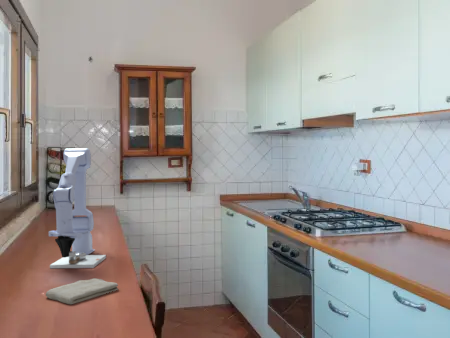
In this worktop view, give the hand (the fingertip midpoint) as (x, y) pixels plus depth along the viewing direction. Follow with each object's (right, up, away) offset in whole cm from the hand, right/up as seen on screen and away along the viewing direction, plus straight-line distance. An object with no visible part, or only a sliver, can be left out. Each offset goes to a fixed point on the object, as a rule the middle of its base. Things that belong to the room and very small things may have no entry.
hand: (65, 256), depth 169 cm
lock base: (+3, -4, +6) cm, 8 cm away
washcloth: (+17, -5, -33) cm, 38 cm away
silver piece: (+3, -2, +3) cm, 5 cm away
